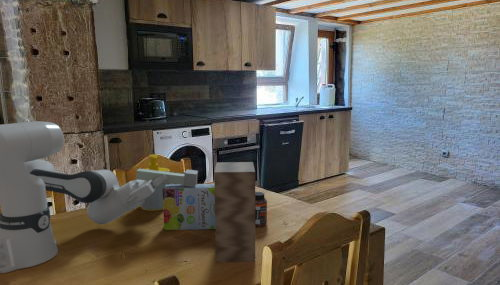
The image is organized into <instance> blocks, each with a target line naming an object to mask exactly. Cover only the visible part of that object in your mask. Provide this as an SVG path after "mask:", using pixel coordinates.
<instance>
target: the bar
mask: <svg viewBox="0 0 500 285" xmlns="http://www.w3.org/2000/svg"><path fill="white" fill-rule="evenodd" d="M184 172H185V174H182V173H178V172H171V171H170V172H163V171H155V170H147V169H146V168H138V169H137V170H136V173H135V174H136V176H135V180H136V179H138V180H146V181H148V180H149V179H151V178H153V180H155V179H157V178H159V177H160V176H162V175H163V174H167V176H168V178H167V179H166V180H165V181H163V183H170V185H172V184H179V185H183V186H189V187H195V186H196V184H198V175H199V174H198V173H199V170H196V169H195V170H194V169H186V170H185V171H184Z"/></svg>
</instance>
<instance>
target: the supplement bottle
mask: <svg viewBox="0 0 500 285" xmlns="http://www.w3.org/2000/svg"><path fill="white" fill-rule="evenodd" d="M267 218H268V201H267V199H266V198H265V193H264V192H262V191H255V227H256V228H257V227H264V226H266V225H267V223H268V222H267V221H268V219H267Z"/></svg>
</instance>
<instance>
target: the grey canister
mask: <svg viewBox="0 0 500 285" xmlns="http://www.w3.org/2000/svg"><path fill="white" fill-rule="evenodd" d="M147 157H148V158H150V159H149V160H150V163H148V168H147V167H146V168H145V169H147V170H155V171H163V172H165V171H167V170H168V171H169V172H171V169H170V168H167V167H160V166H159V165H160V164H159V163H158V162H157V159H158V157H159V155H158V154H149V155H148V156H147ZM165 185H171V183H163V182H162V183H161V184H159V185H158V187H157V188H156V190H155V191H154V192H153V194H151V195H150V196H148V197H147V198H145V202H144V203H143V204H141V205H140V208H141V210H144V211H152V212H155V211H161V210H163V188H164V186H165Z"/></svg>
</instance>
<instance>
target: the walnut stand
mask: <svg viewBox="0 0 500 285" xmlns="http://www.w3.org/2000/svg"><path fill="white" fill-rule="evenodd" d="M214 167H215V168H214V174H213V176H214V177H213V178H214V179H213V180H214V184H215V229H214V230H215V263H245V262H246V263H249V262H256V226H255V192H256V170H255V169H256V168H255V165H254V162H253V161H238V162H237V161H236V162H235V161H230V162H229V161H227V162H224V161H222V162H218V161H217V162H216V163H215V166H214Z"/></svg>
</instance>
